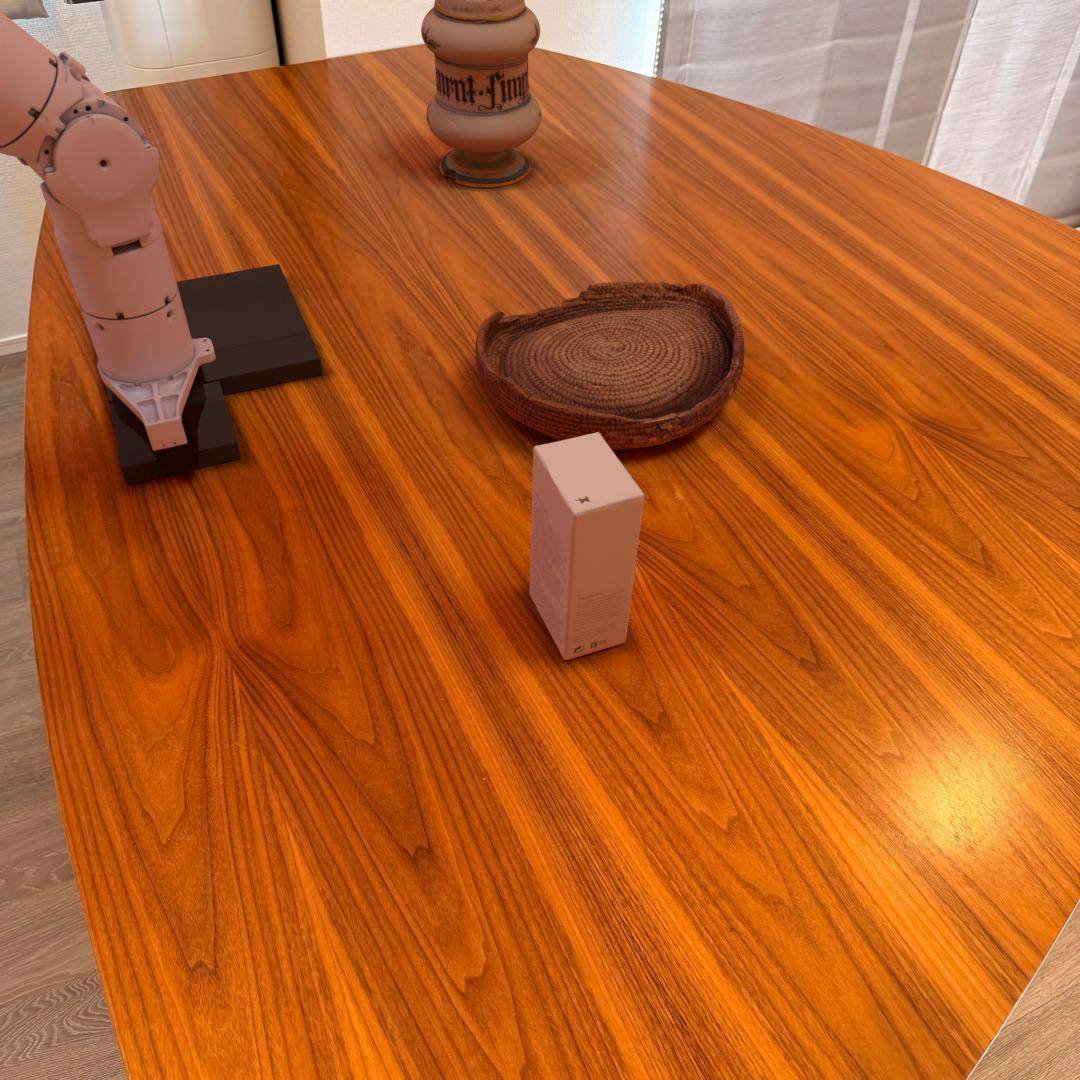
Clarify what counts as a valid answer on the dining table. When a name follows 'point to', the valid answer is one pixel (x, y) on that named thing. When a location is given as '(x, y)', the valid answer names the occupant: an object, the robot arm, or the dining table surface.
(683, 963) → the dining table surface
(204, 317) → the big pad
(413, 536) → the dining table surface
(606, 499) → the cosmetic box
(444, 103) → the apothecary jar
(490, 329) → the basket
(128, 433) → the small pad
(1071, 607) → the dining table surface
